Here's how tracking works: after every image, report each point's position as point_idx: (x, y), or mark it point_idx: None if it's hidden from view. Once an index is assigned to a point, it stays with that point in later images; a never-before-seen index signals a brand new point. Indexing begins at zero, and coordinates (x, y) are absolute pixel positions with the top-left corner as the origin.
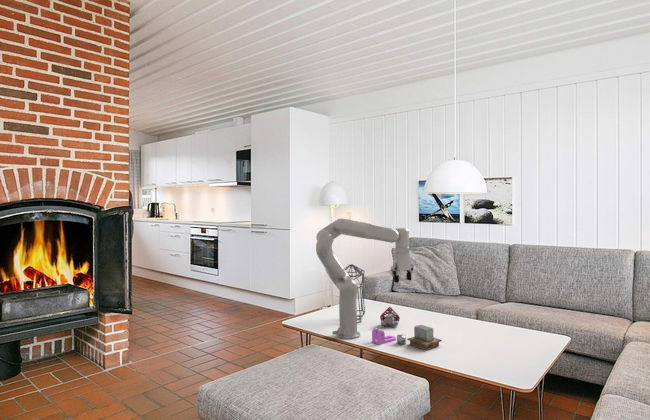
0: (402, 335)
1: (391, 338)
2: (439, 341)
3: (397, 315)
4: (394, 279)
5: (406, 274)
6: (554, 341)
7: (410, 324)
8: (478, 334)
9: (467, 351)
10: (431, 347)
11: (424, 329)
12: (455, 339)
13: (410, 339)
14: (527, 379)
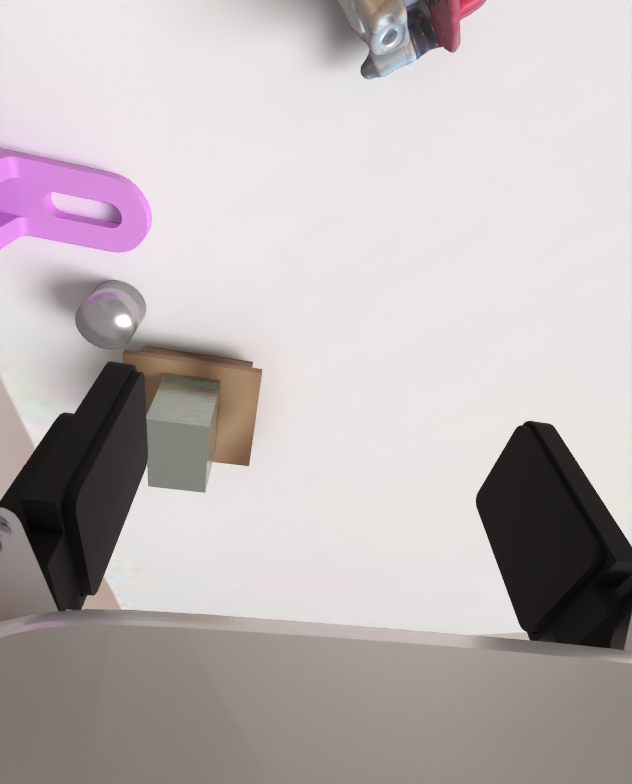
0: (115, 327)
1: (96, 236)
2: (232, 461)
3: (449, 28)
4: (54, 434)
5: (573, 523)
6: None
7: (535, 97)
8: None
9: (267, 520)
10: None
11: (148, 476)
12: (376, 447)
13: None
14: None
